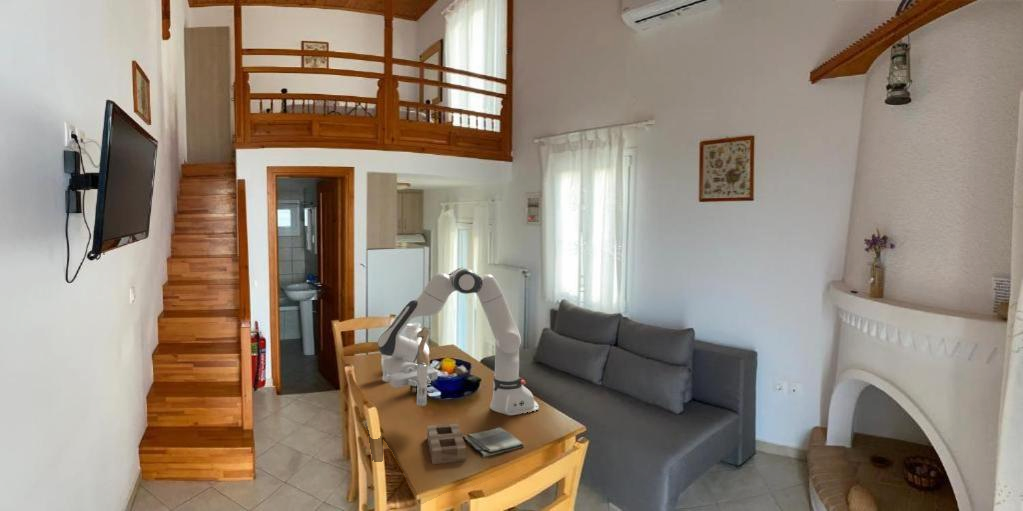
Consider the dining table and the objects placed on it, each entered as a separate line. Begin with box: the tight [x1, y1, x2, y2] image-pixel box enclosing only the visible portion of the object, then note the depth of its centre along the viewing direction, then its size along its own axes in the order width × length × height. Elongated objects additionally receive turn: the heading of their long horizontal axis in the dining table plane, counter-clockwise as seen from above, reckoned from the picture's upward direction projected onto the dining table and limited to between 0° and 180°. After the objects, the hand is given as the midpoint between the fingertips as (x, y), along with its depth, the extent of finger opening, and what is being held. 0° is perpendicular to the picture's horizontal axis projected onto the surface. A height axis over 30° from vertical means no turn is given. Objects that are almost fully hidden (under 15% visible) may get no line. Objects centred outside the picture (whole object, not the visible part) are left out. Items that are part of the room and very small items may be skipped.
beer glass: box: [381, 354, 390, 383], centre depth 254 cm, size 7×7×15 cm
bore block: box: [426, 423, 467, 465], centre depth 184 cm, size 20×12×5 cm, turn 15°
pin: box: [416, 364, 428, 407], centre depth 196 cm, size 4×4×16 cm
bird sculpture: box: [411, 326, 431, 393], centre depth 243 cm, size 11×12×32 cm
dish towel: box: [462, 426, 525, 458], centre depth 191 cm, size 19×18×3 cm
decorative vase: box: [404, 322, 430, 363], centre depth 275 cm, size 18×18×25 cm
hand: (423, 383), depth 195 cm, fingers closed on pin, 4 cm apart
